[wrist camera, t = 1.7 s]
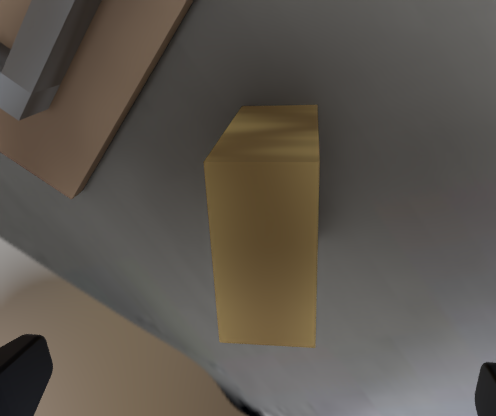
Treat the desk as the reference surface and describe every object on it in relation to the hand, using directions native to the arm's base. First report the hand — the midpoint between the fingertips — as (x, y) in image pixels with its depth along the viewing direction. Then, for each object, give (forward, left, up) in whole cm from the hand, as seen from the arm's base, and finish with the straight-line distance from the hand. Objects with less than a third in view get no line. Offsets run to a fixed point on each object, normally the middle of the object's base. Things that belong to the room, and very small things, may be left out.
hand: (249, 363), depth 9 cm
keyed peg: (0, 0, -11) cm, 11 cm away
